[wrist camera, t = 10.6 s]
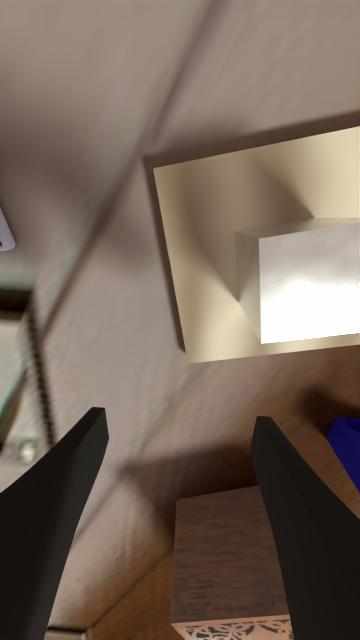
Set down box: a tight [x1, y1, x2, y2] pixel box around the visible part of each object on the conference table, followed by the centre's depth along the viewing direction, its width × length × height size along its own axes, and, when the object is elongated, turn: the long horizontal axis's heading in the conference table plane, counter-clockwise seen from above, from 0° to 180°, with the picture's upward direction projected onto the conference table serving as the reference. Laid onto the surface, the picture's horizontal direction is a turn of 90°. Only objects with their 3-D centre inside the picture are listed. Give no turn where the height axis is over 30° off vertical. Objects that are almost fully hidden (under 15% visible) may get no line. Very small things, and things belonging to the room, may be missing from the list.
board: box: [153, 126, 360, 363], centre depth 16 cm, size 14×14×1 cm
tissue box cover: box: [170, 485, 294, 640], centre depth 28 cm, size 26×14×10 cm, turn 20°
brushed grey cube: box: [234, 218, 360, 343], centre depth 13 cm, size 5×5×6 cm
